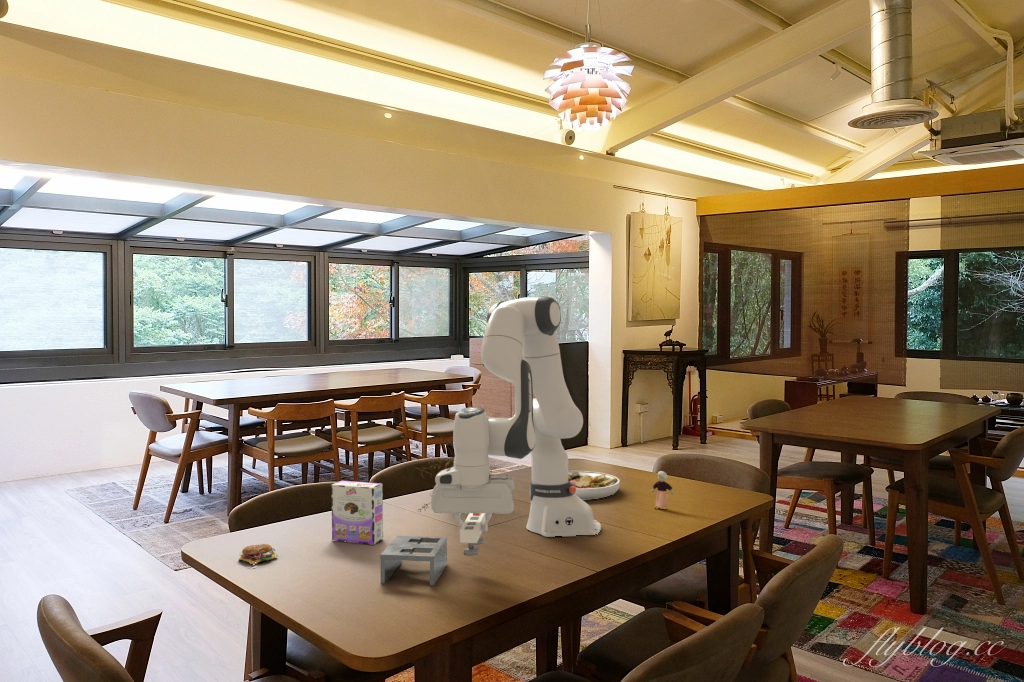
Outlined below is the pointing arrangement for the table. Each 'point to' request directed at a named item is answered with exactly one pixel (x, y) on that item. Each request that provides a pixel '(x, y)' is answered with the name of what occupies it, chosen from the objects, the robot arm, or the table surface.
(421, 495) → the table surface
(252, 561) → the hamburger
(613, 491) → the bowl
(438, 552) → the grey stepped cutout plate
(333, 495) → the candy box
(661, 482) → the grandmother figurine
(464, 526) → the power strip
